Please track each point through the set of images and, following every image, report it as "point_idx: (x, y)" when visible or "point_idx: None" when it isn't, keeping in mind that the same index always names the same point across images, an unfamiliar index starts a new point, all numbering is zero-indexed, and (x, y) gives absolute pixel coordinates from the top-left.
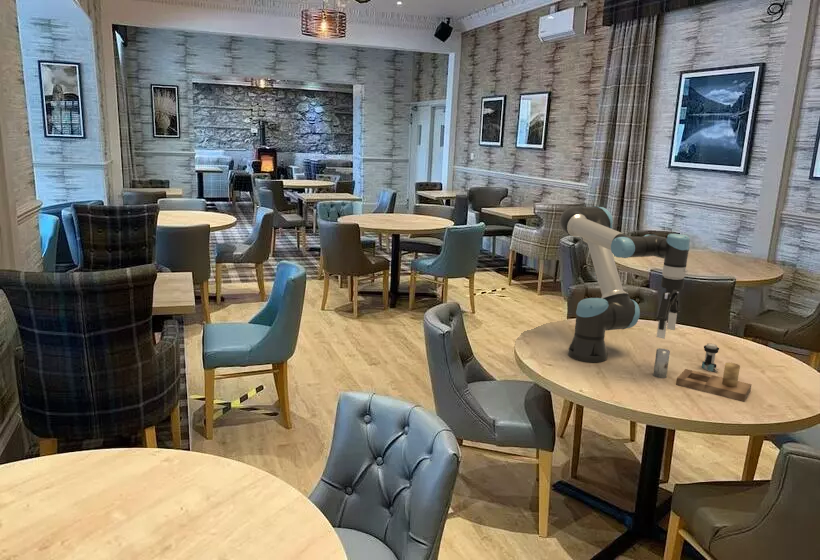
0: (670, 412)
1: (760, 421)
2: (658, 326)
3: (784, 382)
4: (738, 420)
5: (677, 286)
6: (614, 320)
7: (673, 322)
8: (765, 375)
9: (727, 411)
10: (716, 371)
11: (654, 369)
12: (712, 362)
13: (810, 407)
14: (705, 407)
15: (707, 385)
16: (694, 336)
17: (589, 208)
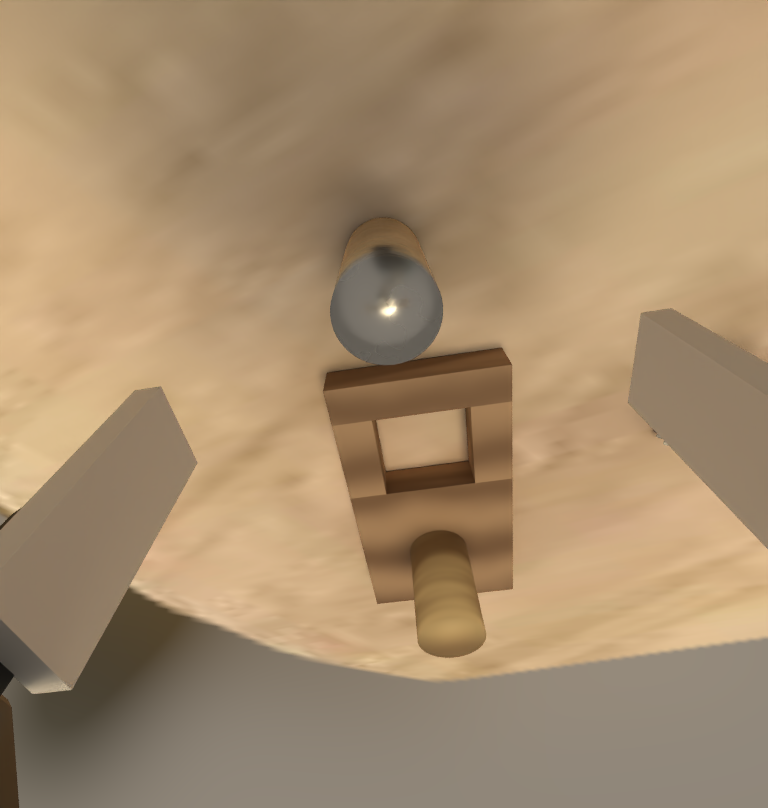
0: (13, 476)
1: (257, 635)
2: (41, 499)
3: (692, 598)
4: (201, 606)
5: None
6: None
7: (695, 446)
8: (744, 549)
9: (238, 574)
10: (657, 435)
11: (353, 237)
12: None
13: (490, 671)
14: (197, 528)
15: (353, 506)
16: None
17: None
